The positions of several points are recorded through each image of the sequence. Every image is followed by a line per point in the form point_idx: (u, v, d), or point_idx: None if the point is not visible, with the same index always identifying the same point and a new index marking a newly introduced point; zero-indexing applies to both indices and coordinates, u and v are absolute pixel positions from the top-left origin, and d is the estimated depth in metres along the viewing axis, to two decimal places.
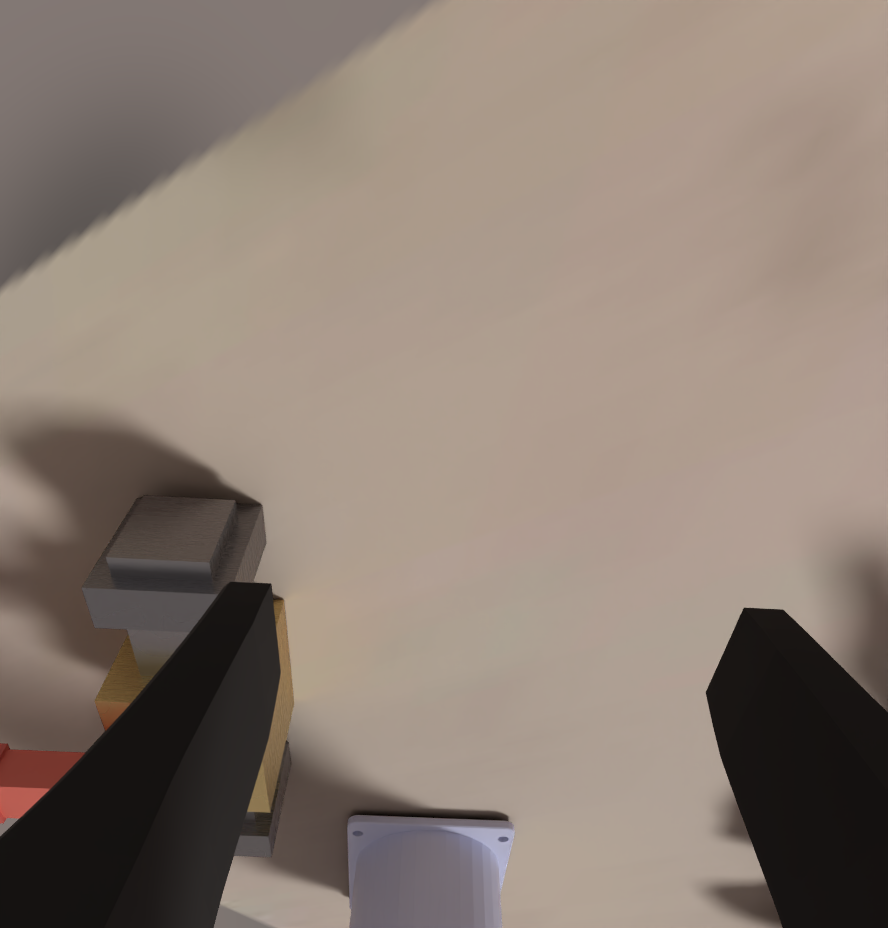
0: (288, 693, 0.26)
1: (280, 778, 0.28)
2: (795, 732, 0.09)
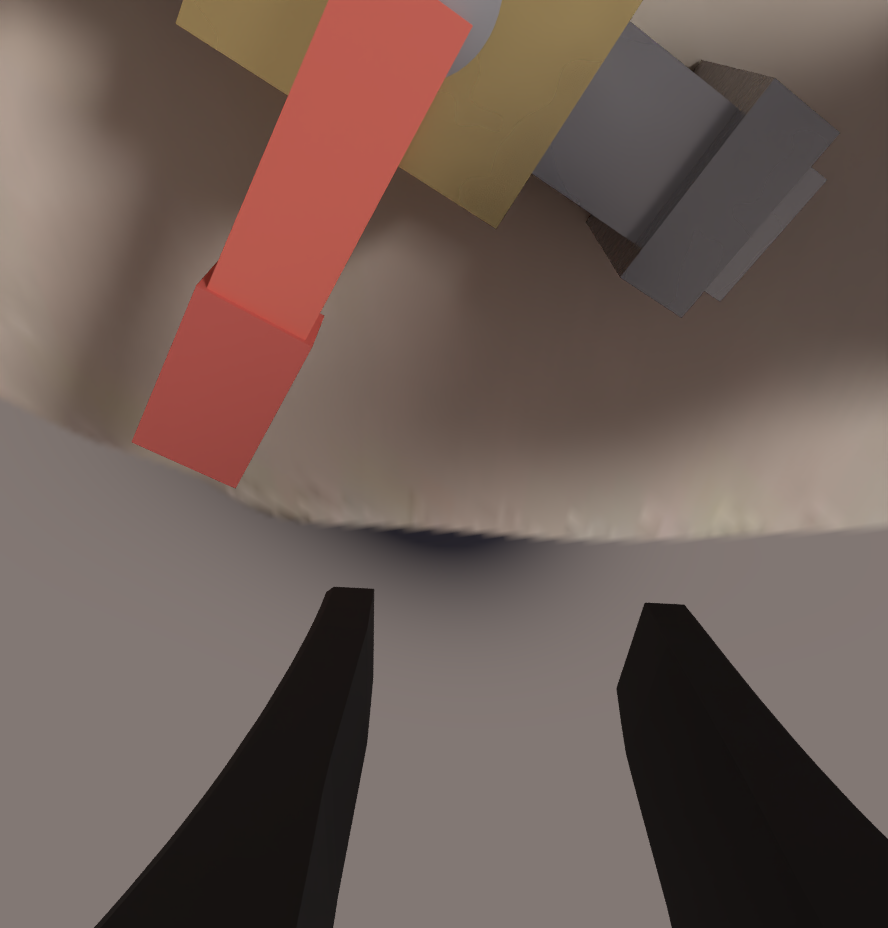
0: None
1: (727, 68, 0.13)
2: (681, 727, 0.09)
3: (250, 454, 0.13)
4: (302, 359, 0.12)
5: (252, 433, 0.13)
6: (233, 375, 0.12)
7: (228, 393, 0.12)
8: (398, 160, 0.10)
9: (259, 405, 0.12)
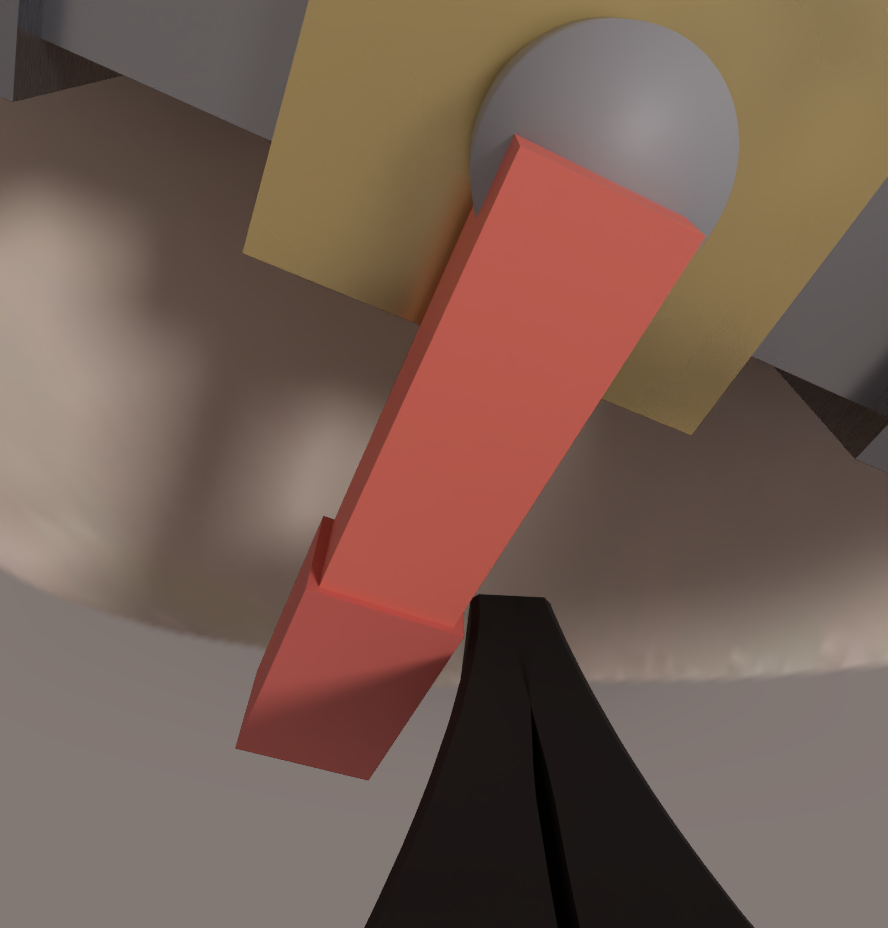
0: None
1: None
2: None
3: (386, 747, 0.10)
4: (451, 650, 0.09)
5: (387, 728, 0.10)
6: (360, 674, 0.09)
7: (354, 692, 0.09)
8: (584, 417, 0.07)
9: (396, 701, 0.09)
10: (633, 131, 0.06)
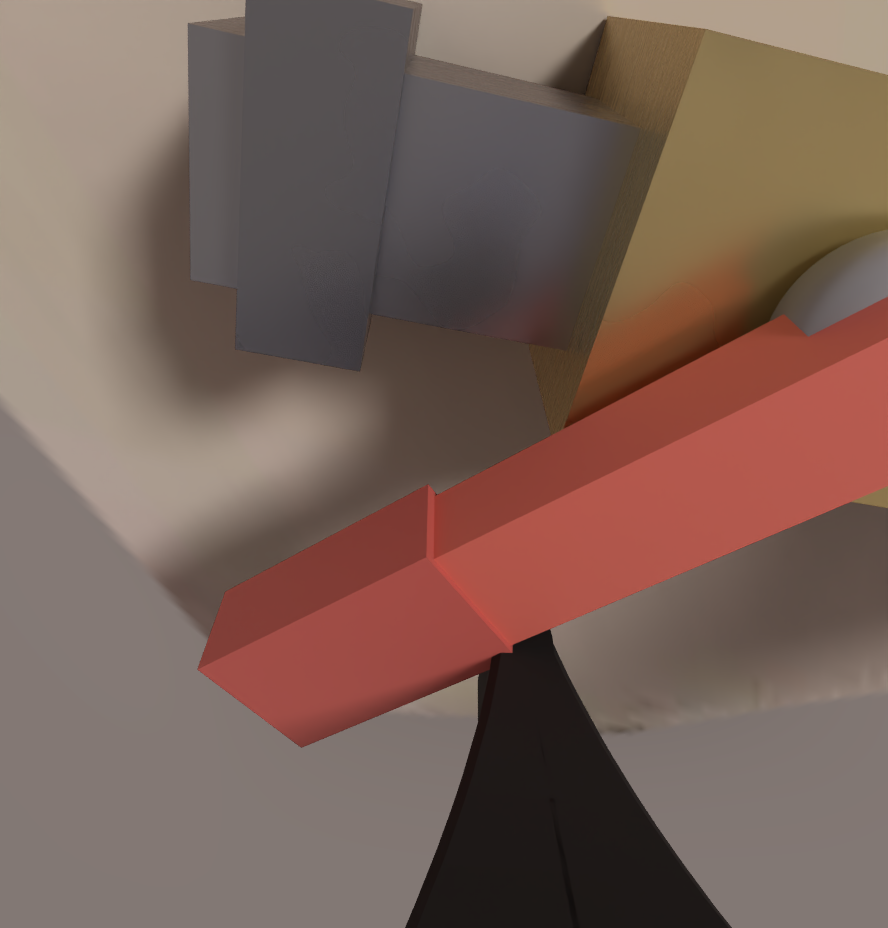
0: None
1: None
2: None
3: (349, 724, 0.10)
4: None
5: (369, 708, 0.09)
6: (395, 651, 0.09)
7: (373, 665, 0.09)
8: (768, 533, 0.08)
9: (404, 688, 0.09)
10: None
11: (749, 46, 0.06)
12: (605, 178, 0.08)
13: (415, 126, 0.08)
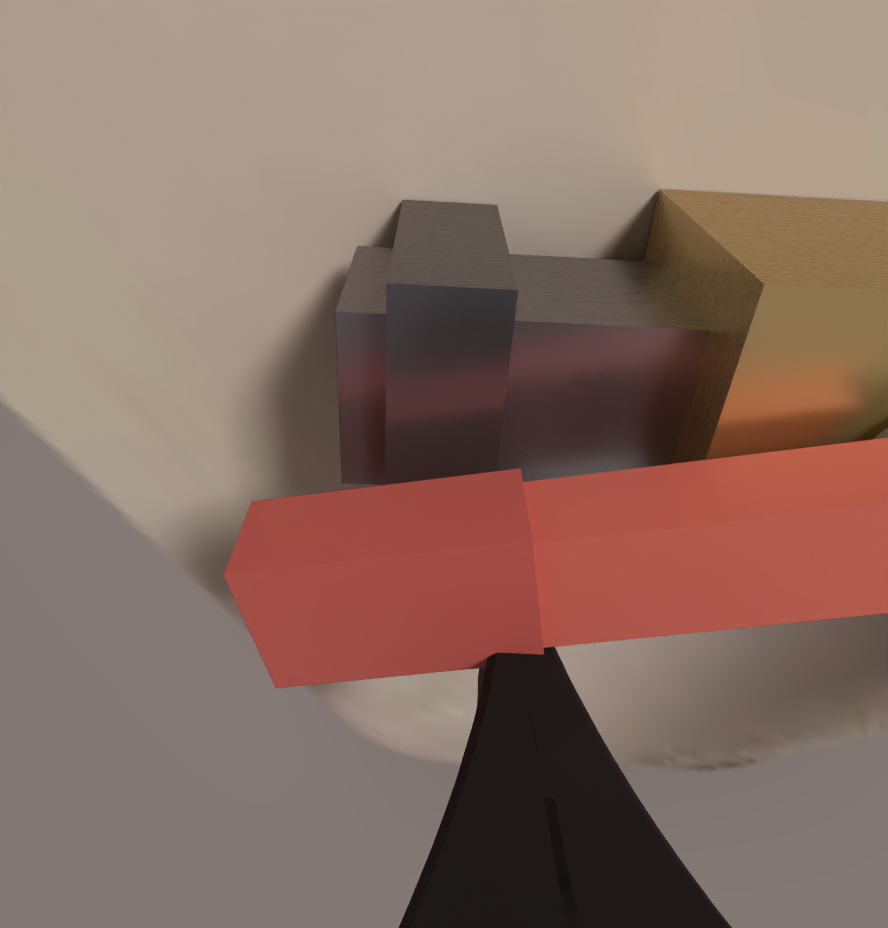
0: None
1: None
2: None
3: (342, 678, 0.09)
4: None
5: (373, 668, 0.09)
6: (438, 620, 0.08)
7: (408, 627, 0.08)
8: (814, 617, 0.08)
9: (422, 659, 0.09)
10: None
11: (802, 288, 0.08)
12: (683, 369, 0.09)
13: (520, 354, 0.09)
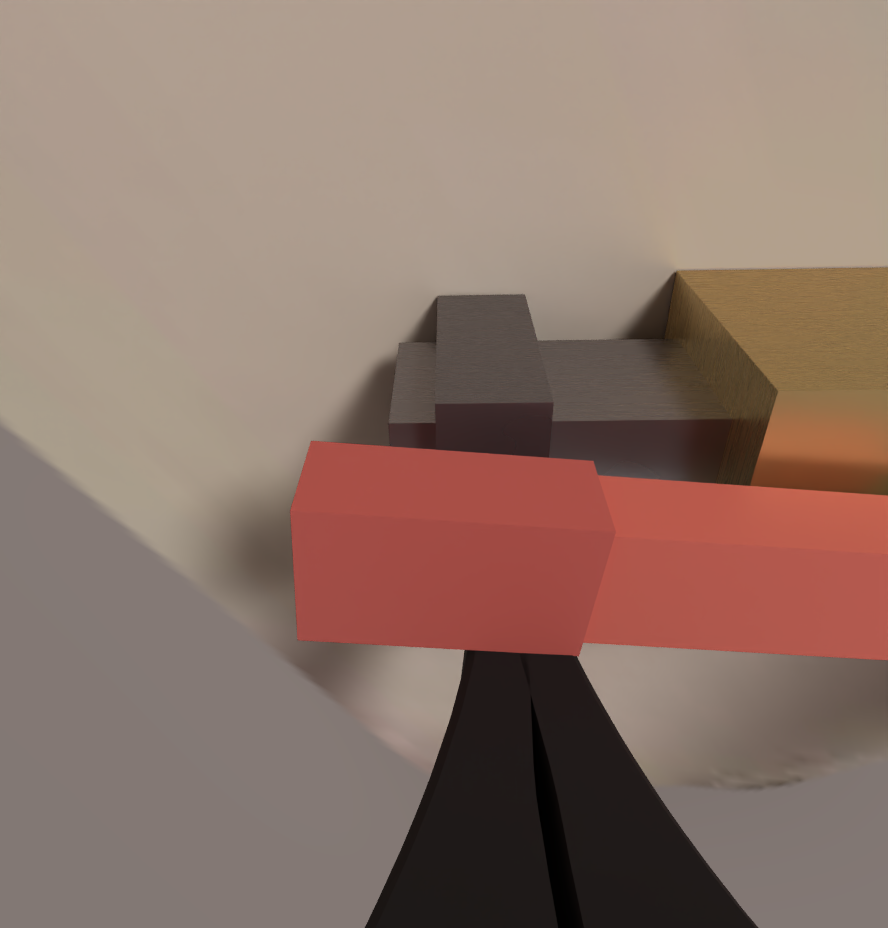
0: None
1: None
2: None
3: (371, 641, 0.09)
4: (556, 653, 0.09)
5: (408, 635, 0.09)
6: (492, 597, 0.08)
7: (460, 599, 0.08)
8: (835, 654, 0.09)
9: (462, 634, 0.08)
10: None
11: (813, 391, 0.09)
12: (709, 452, 0.10)
13: (557, 449, 0.10)
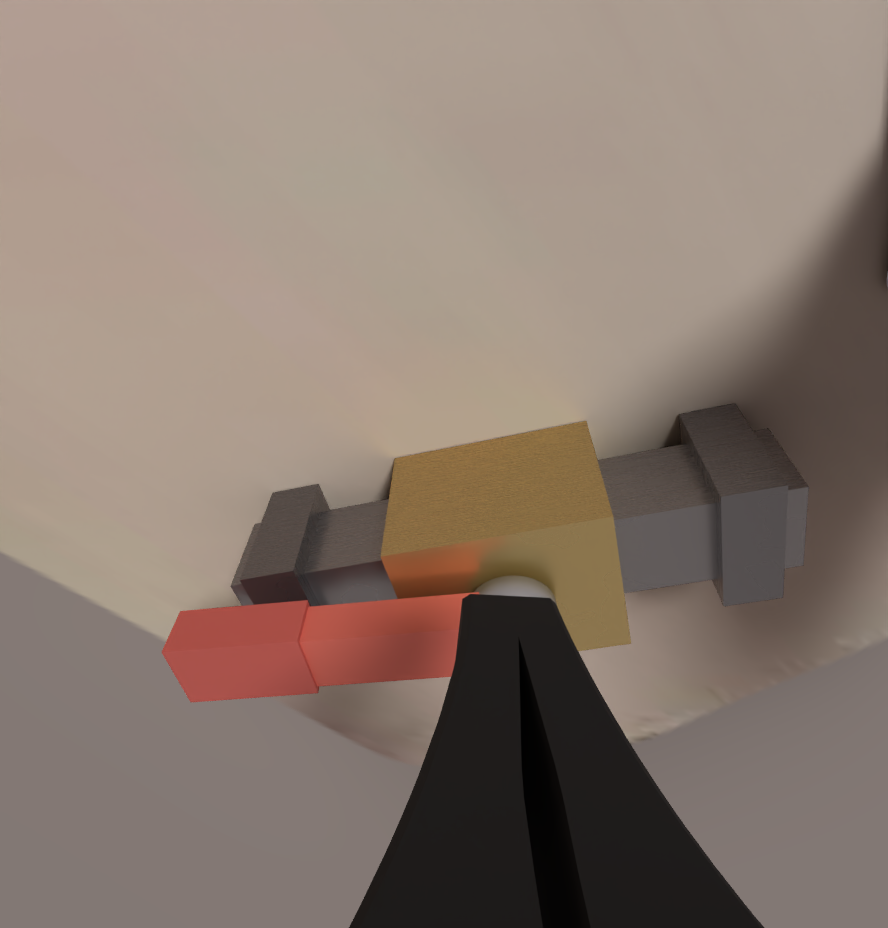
0: (536, 442, 0.20)
1: (696, 444, 0.19)
2: (524, 720, 0.09)
3: (222, 698, 0.18)
4: (306, 693, 0.18)
5: (236, 694, 0.18)
6: (263, 673, 0.18)
7: (249, 676, 0.18)
8: (441, 675, 0.18)
9: (258, 690, 0.18)
10: None
11: (398, 553, 0.18)
12: None
13: (316, 584, 0.20)
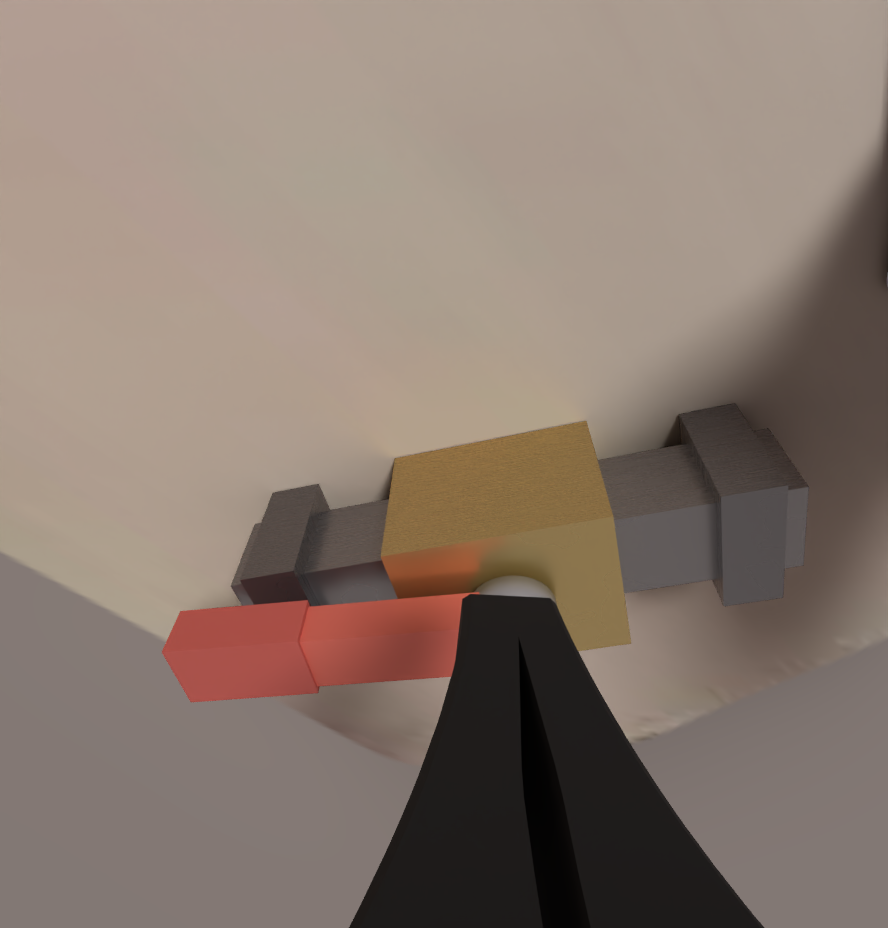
0: (536, 442, 0.20)
1: (696, 444, 0.19)
2: (524, 720, 0.09)
3: (222, 698, 0.18)
4: (306, 693, 0.18)
5: (237, 694, 0.18)
6: (263, 673, 0.18)
7: (249, 676, 0.18)
8: (441, 675, 0.18)
9: (258, 690, 0.18)
10: None
11: (398, 553, 0.18)
12: None
13: (316, 584, 0.20)
